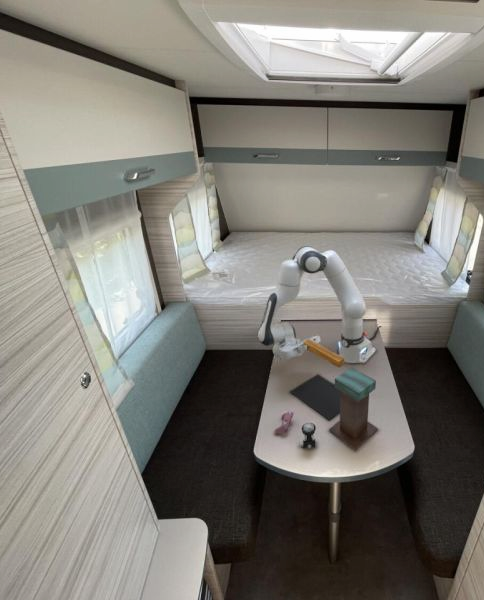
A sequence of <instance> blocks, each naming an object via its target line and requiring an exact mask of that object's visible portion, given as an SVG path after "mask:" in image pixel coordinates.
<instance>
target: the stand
mask: <svg viewBox="0 0 484 600" xmlns="http://www.w3.org/2000/svg"><path fill="white" fill-rule="evenodd" d="M334 385H335V387H336V388H337V389H339V390H340V413H339V421H337V422H336V423H335V424H334V425H332V426H331V427H330V428H329V432H330V433H331V434H332V435H334V436H335V437H336V438H338V439H339V440H341V441H342V442H343V443H344V444H345V445H347V446H348V447H350V448H351V449H353V450H354V451H355V452H356V451H357V450H358V449H359V448H360V447H361V446H362V445H363V444H365V442H366V441H368V440H369V439H370V438H371V437H372V436H374V435H375V433H376V432H377V431H378V427H376V426H375V425H374V424H372V423H370V422H369V406H370V405H369V403H370V394H371V393H372V392H373V391H374V390H376V385H377V380H376V379H375V378H373V377H370V376H369V375H367V374H365V373H364V372H362V371H360V370H359V369H356V368H355V367H354V366H353V367H350V368H348V369H347V370H345V371H344V372H343V373H341V374H339V375H338V376H336V377H335V378H334Z"/></svg>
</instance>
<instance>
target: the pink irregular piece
mask: <svg viewBox="0 0 484 600" xmlns="http://www.w3.org/2000/svg"><path fill="white" fill-rule="evenodd" d="M294 415H295V412H293V411H290V410H288V411H287V412H284V413H283V414H282V415H281V419H283V420H282V422H281V425H280V426H278V427H277V428H275V429H274V433H275V434H277V435H281V434H283V433H284V432H286V431H287V430H289V429H290V424H291V420H292V419H293V417H294Z"/></svg>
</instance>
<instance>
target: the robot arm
mask: <svg viewBox="0 0 484 600" xmlns="http://www.w3.org/2000/svg"><path fill="white" fill-rule="evenodd" d="M319 272H322V273H323V274H324V276H325V278H326V279H327V282H328V283H329V284H330V286H331V288H332V290H333V292H334V293H335V295H336V299H338V301H339V303H340V307H341V310H340V311H341V334H340V341H339V342H338V347H339V348H338V355H339V356H341V357H343V358H344V363H347V364H365V363H366V362H367V361H368V360H369V359H370V358H371V357H372V356H373V355H374V354H375V353H376V350H377V349H376V348H375V347H374V346H373V345H372V342H371V341H372V340H374V338H375V337H376V335H377V333H378V331H379V330H380V328H382V325H379V326H378V327H377V328H376V330H375V332H374V335H373V336H372V337H371V338H366V337H367V336H368V332H366V331H364V332H363V326H364V320H363V317H364V316H365V315H366V312H367V311H366V310H367V305H366V301H365V299H364V297H363V295H362V293H361V292H360V291H361V290H359V289H358V287H357V285H356V283H355V281H354V278H353V277H352V275H351V273H350V272H349V269H348V268H347V266H346V264H345V262H344V261H343V259H342V258H341V257H340V256H339V254H338V253H337V252H336V251H335V250H331V249H329V250H326V251H323V252H319V251H318V250H317V249H315V248H314V247H313V246H310V245H304V246H301V247H299V248H298V250H297V251H296V253H295V254H293V257H292V259H287V260H284V261H282V263H281V264H280V267H279V270H278V275H277V281H276V286H275V288H274V290H273V292H272V293H271V294H270V295H269V297H268V299H267V302H266V306H265V309H264V313H263V317H262V321H261V324H260V326H259V329H258V330H257V339H258V341H259V342H260V344H262V345H264V346H266V347H268V346H269V347H270V346H272V345H273V347H272V353H273V355H274V356H275V357H276V358H278V359H281V360H282V362H286V361H289V360H291V359H294V358H298V357H301V356H302V355H303V354H304V352H305V351H306V350H307V349H308V348H309V347H308V345H305V346H304V344H303V342H304V341H306V340H308V339H310V340H312V341H314V342H315V343H317V344H320V343H322V340H321V337H320V335H319V334H317V335H313V336H309V337H307V338H305V339H303V340H301V339H300V338H297V334H296V329H295V327H294V326H293V324H292V323H290V322H289V321H285V322H278V323H274V322H275V320H276V315H277V312H278V311H279V309H280V308H281V307H283V306H285V305H286V304H288V303H290V302H292V301H294V300H295V299H296V298H298V295H299V293H300V289H301V281H302V276H303V274H305V273H306V274H317V273H319ZM307 351H308V350H307Z"/></svg>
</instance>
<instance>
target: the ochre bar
mask: <svg viewBox="0 0 484 600" xmlns="http://www.w3.org/2000/svg"><path fill="white" fill-rule="evenodd" d="M303 344H304V346H305V345H308V347H309V348H308V349H307V351H309V352H311V353H313V354H314V355H316V356H317V357H319V358H321V359H323V360H325V361H326V362H328V363H329V364H332V365H333V366H335V367H337V368H340V367H342V366H344V365H345V362H344V358H343V357H341V356H339V353H338V354H337V353H336V352H334V351H332V350H330V349H328V348H326V347H325V346H323V345H321V344H320V343H318V344H317V343H315V342H314V341H312V340H310V339H308V340H306V341H304V342H303Z"/></svg>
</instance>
